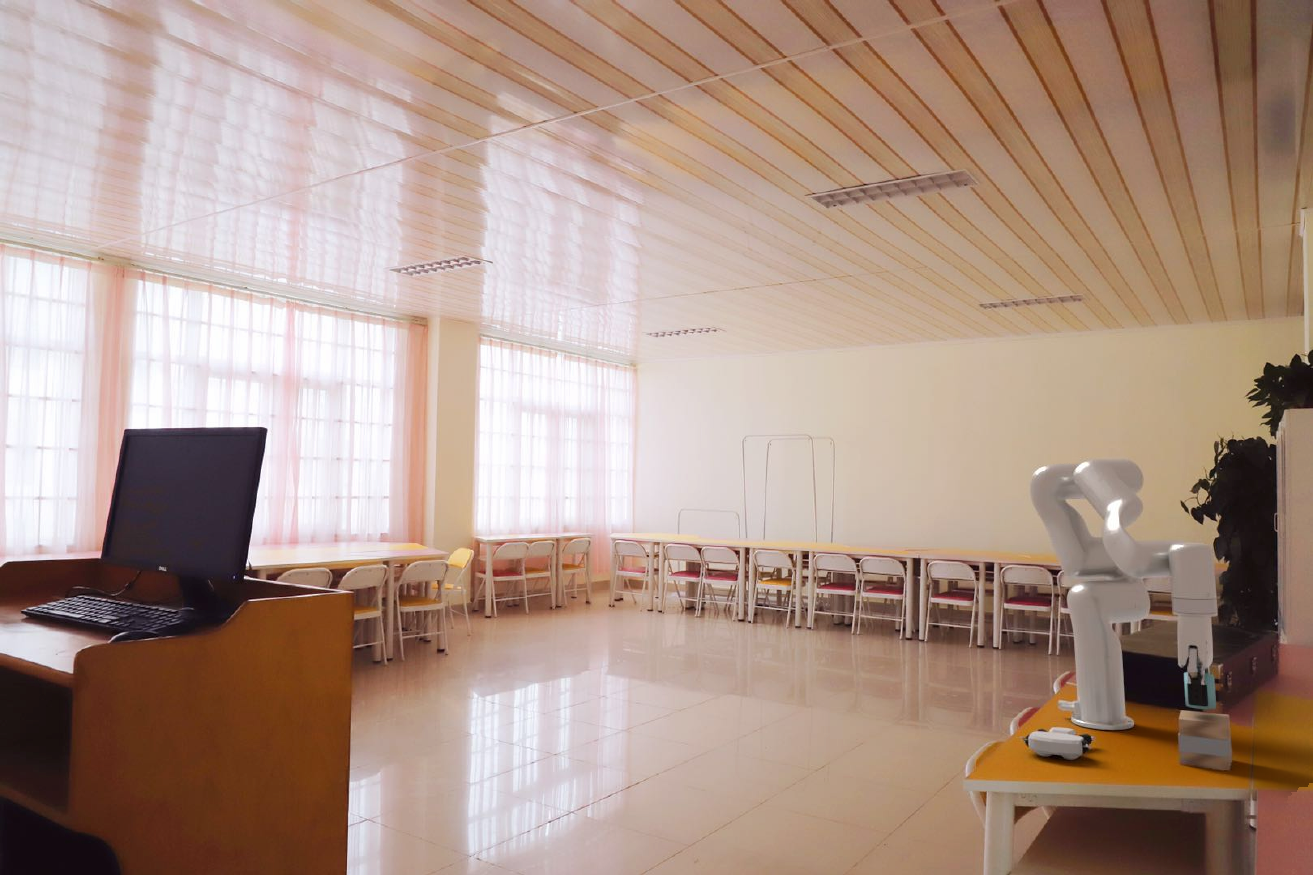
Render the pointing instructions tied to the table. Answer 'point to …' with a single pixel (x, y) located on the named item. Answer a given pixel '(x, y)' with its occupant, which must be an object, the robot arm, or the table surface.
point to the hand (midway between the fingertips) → (1200, 701)
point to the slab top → (1204, 725)
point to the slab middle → (1204, 745)
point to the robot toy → (1058, 742)
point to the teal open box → (1210, 689)
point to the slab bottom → (1205, 760)
